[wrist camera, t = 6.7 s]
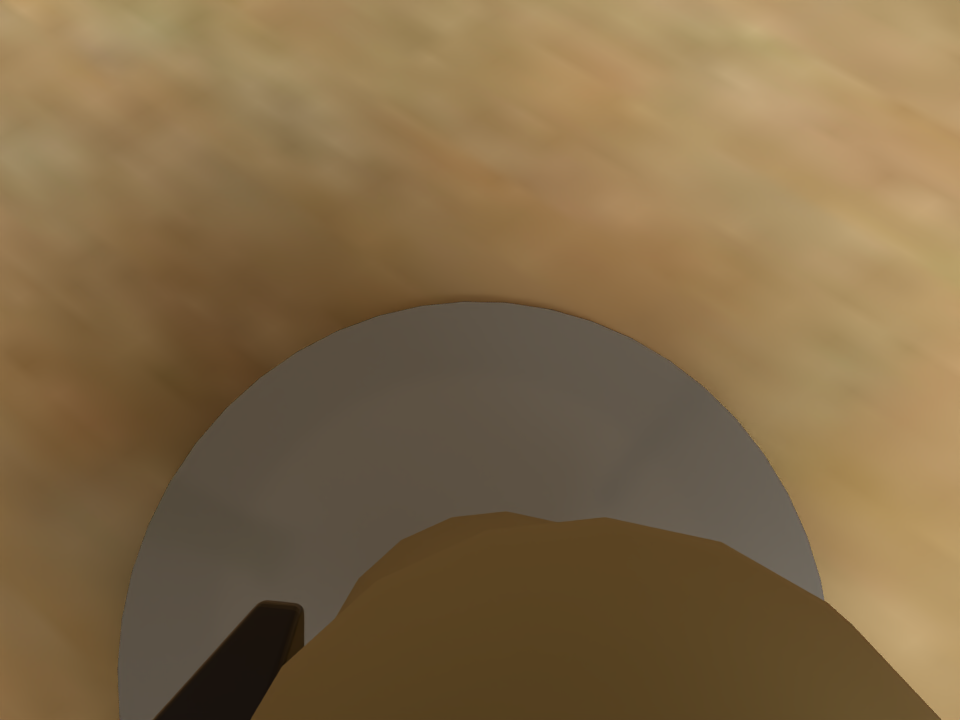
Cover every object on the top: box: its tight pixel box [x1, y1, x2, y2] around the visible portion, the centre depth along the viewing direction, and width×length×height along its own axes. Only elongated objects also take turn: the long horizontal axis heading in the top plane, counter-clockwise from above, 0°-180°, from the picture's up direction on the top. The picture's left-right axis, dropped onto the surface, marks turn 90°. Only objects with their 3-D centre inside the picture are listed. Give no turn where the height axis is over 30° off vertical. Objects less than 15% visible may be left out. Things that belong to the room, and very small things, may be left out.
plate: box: [118, 302, 824, 720], centre depth 21 cm, size 16×16×1 cm
